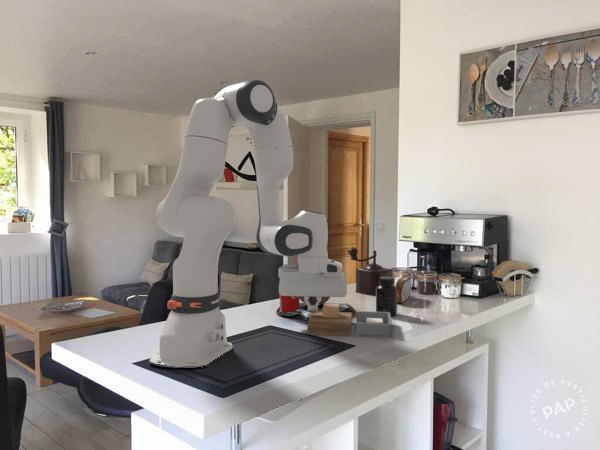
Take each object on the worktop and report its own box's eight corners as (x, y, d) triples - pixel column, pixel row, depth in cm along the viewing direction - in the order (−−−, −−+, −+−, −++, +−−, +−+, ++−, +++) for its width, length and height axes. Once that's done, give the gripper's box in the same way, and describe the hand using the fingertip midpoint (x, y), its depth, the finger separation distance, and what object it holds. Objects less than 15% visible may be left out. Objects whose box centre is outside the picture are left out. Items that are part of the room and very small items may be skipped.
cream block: (366, 322, 139) (366, 332, 139) (382, 322, 138) (382, 333, 138) (366, 317, 143) (366, 328, 143) (382, 318, 142) (382, 328, 143)
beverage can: (299, 317, 156) (299, 280, 155) (279, 317, 157) (279, 279, 156) (299, 312, 163) (299, 276, 162) (280, 312, 163) (280, 276, 162)
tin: (404, 296, 187) (404, 274, 187) (412, 297, 186) (412, 274, 185) (393, 304, 174) (393, 281, 173) (402, 305, 172) (402, 281, 172)
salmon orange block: (338, 317, 145) (338, 307, 145) (322, 317, 145) (322, 307, 145) (338, 313, 149) (338, 304, 149) (323, 313, 150) (324, 303, 150)
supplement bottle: (377, 310, 165) (378, 275, 164) (398, 312, 163) (399, 276, 162) (373, 315, 159) (374, 278, 158) (395, 317, 157) (395, 280, 156)
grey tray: (392, 337, 136) (392, 324, 136) (355, 336, 137) (356, 323, 137) (389, 323, 150) (389, 312, 150) (356, 322, 151) (356, 310, 151)
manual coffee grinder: (370, 288, 201) (371, 244, 200) (393, 292, 193) (393, 246, 192) (345, 294, 191) (345, 247, 189) (367, 298, 183) (368, 250, 181)
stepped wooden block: (350, 335, 138) (350, 325, 137) (307, 334, 139) (307, 323, 139) (351, 322, 151) (351, 312, 151) (312, 320, 153) (312, 311, 153)
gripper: (276, 266, 145) (276, 312, 146) (346, 267, 143) (346, 314, 144) (279, 262, 151) (280, 307, 153) (347, 263, 149) (346, 309, 150)
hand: (312, 310), depth 148 cm, fingers closed
